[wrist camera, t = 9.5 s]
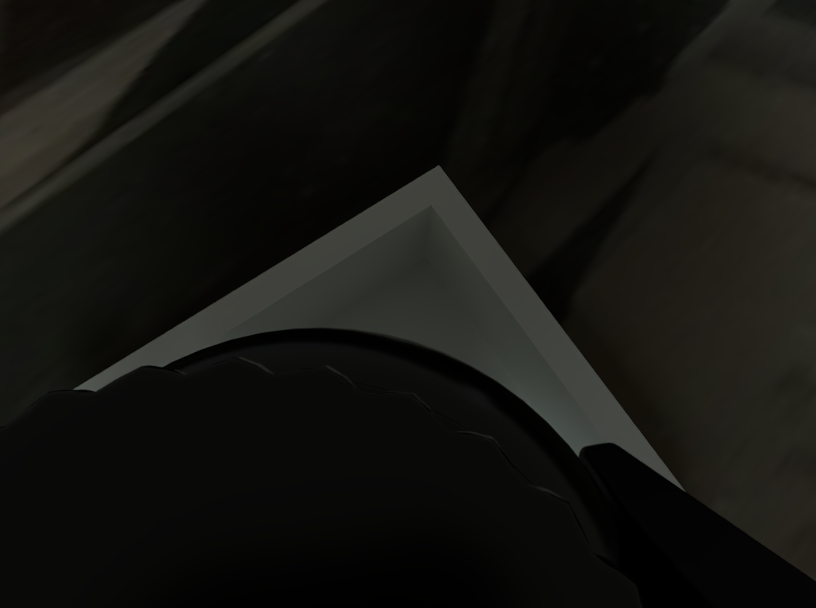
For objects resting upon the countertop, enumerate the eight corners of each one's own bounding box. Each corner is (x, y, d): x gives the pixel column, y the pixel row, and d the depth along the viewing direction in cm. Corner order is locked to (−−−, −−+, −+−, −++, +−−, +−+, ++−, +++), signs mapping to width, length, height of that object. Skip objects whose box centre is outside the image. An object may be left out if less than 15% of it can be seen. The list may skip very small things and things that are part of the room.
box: (291, 936, 16) (247, 1116, 12) (53, 472, 19) (-58, 469, 15) (703, 607, 18) (804, 648, 14) (431, 234, 21) (439, 164, 17)
